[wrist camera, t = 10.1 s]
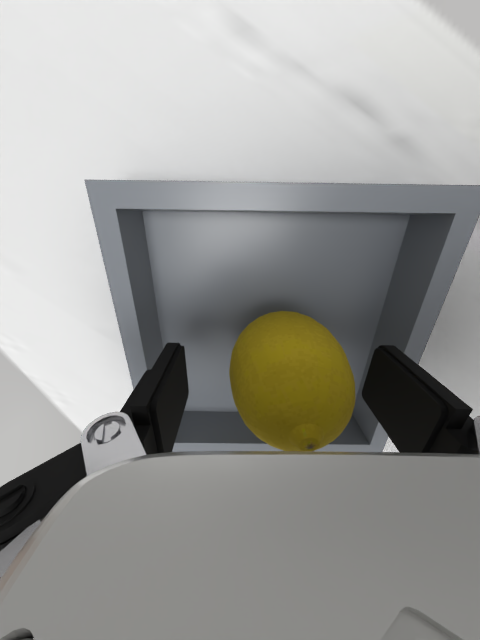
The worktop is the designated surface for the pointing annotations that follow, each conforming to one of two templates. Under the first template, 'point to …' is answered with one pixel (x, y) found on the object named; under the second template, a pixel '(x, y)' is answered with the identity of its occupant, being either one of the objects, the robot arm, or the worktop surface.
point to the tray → (275, 279)
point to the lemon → (291, 382)
